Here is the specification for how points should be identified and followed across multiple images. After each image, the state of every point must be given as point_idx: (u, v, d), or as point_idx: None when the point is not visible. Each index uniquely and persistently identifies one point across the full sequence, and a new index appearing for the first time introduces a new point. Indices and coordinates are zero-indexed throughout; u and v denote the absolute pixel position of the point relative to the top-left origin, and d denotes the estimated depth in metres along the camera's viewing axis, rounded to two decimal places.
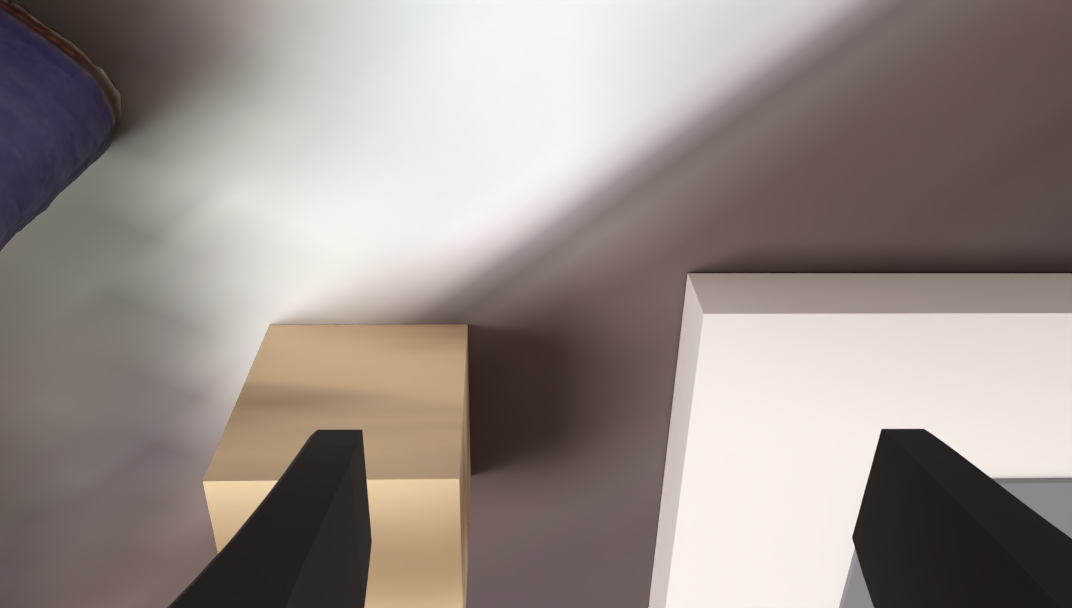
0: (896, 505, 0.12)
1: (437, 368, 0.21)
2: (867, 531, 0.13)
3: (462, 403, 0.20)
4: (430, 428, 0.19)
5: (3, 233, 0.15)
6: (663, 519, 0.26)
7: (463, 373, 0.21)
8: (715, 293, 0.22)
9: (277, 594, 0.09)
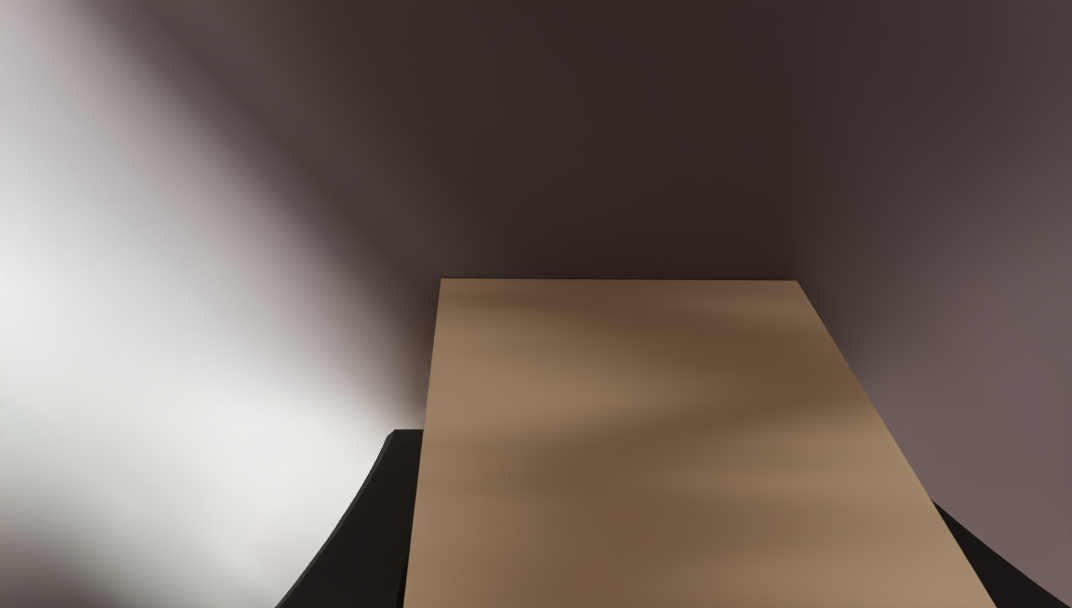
0: None
1: None
2: None
3: (424, 434, 0.09)
4: None
5: None
6: None
7: None
8: None
9: (384, 593, 0.09)
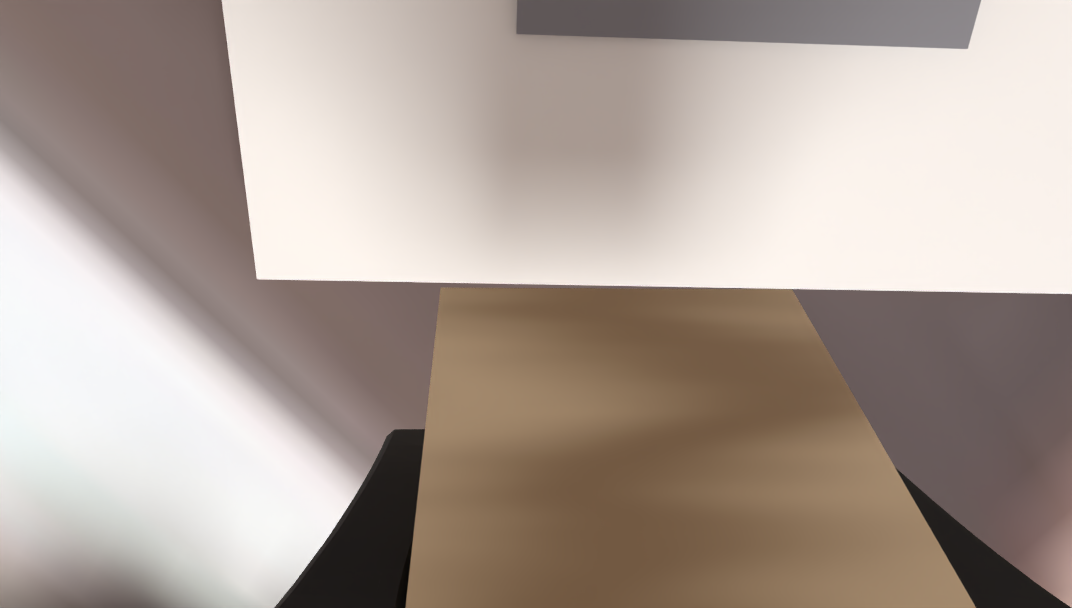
0: None
1: None
2: None
3: (425, 445, 0.10)
4: None
5: None
6: None
7: None
8: None
9: (384, 593, 0.09)
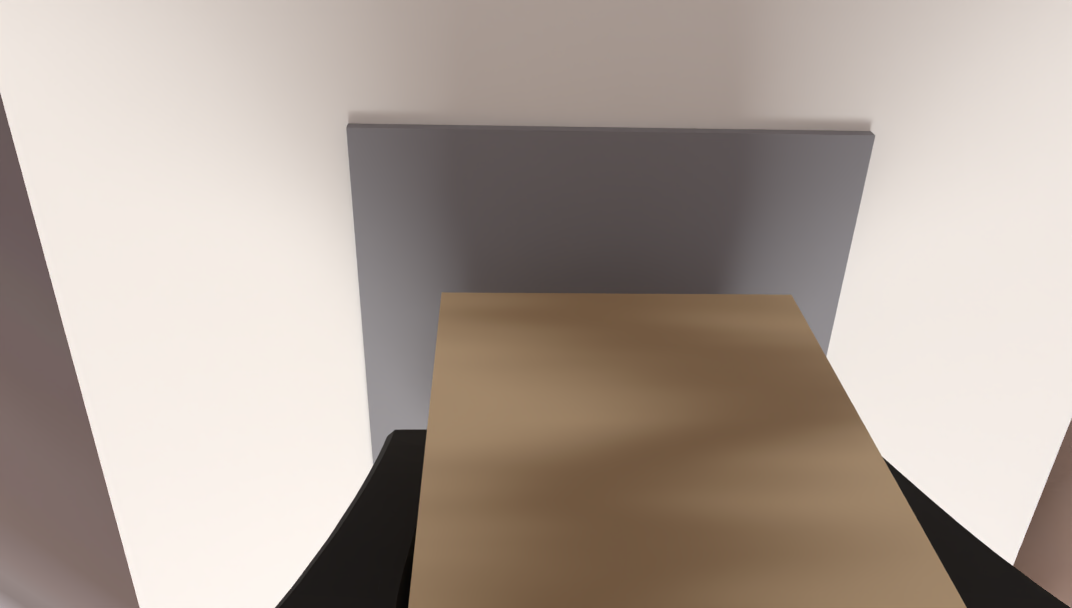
0: None
1: None
2: None
3: (426, 453, 0.10)
4: None
5: None
6: None
7: None
8: None
9: (384, 593, 0.09)
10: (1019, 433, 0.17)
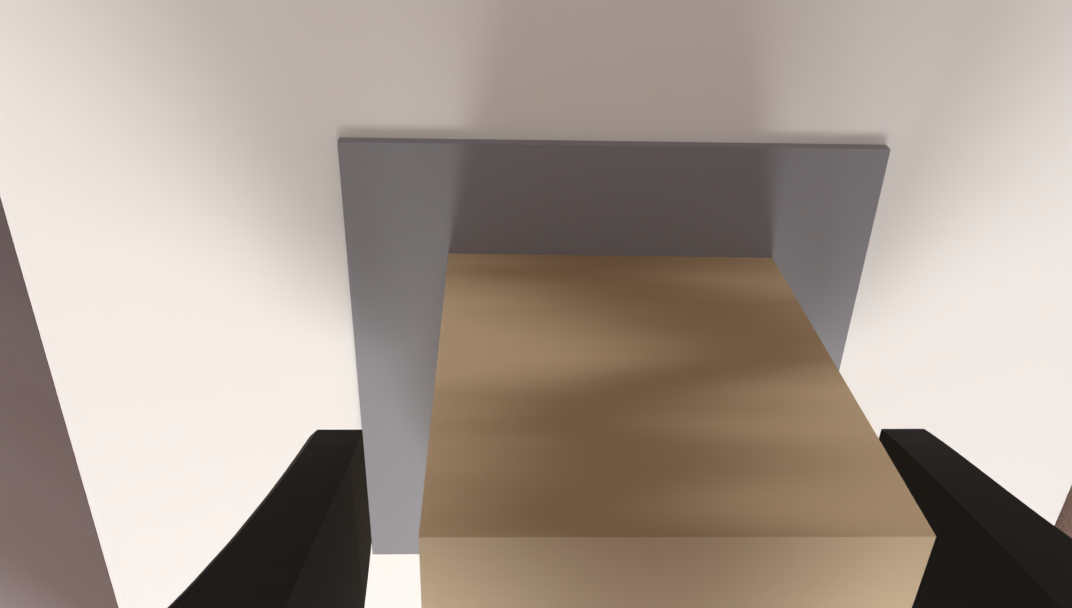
0: None
1: None
2: None
3: (436, 384, 0.11)
4: None
5: None
6: None
7: None
8: None
9: (277, 594, 0.09)
10: (1036, 455, 0.16)
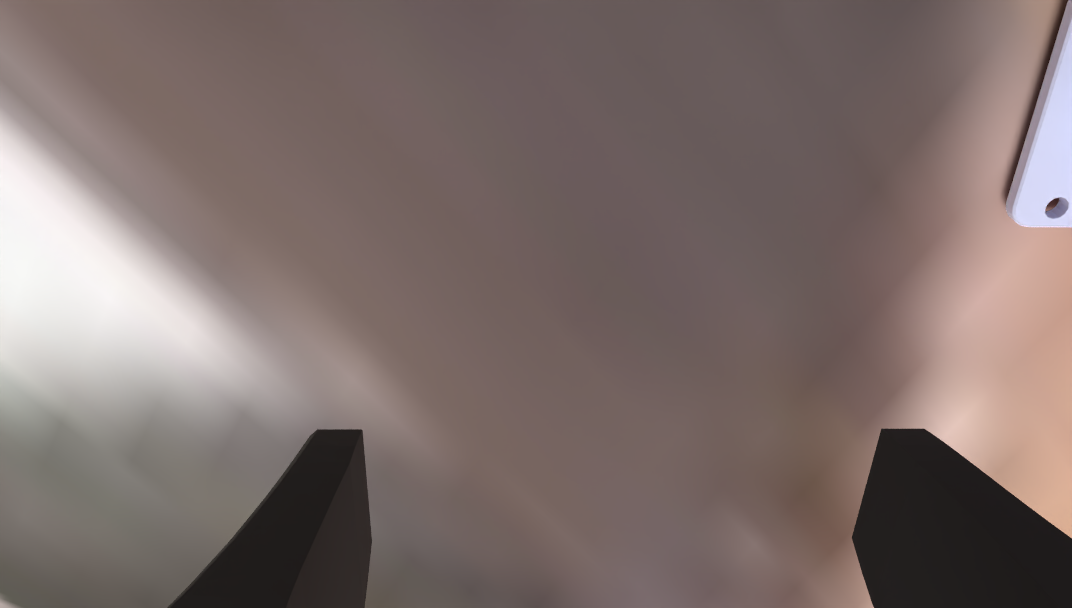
0: (896, 505, 0.12)
1: None
2: (867, 531, 0.13)
3: None
4: None
5: None
6: None
7: None
8: None
9: (277, 593, 0.09)
10: None
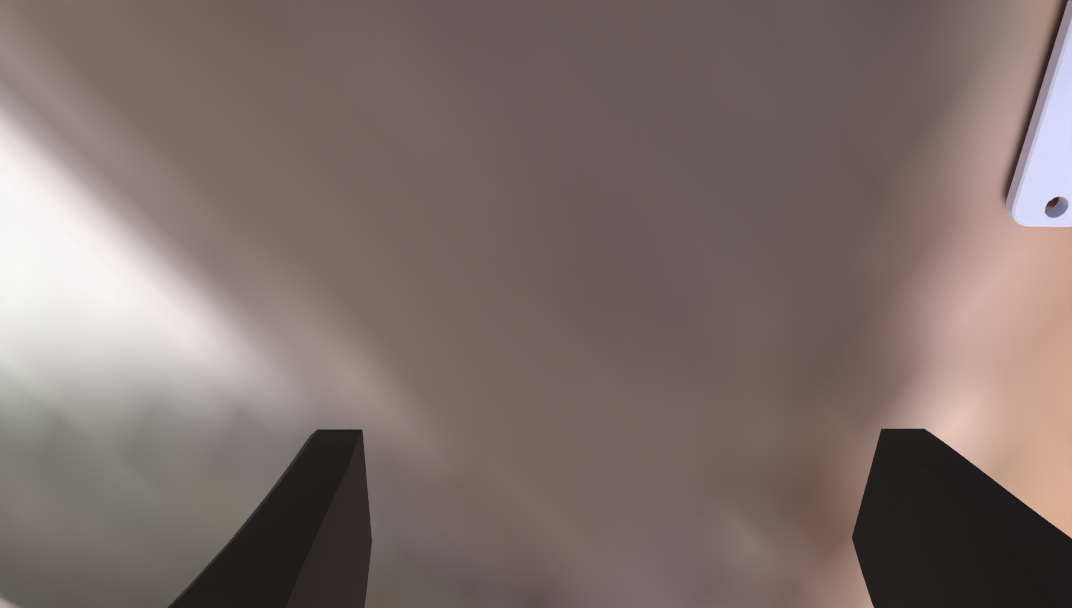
0: (896, 505, 0.12)
1: None
2: (867, 531, 0.13)
3: None
4: None
5: None
6: None
7: None
8: None
9: (277, 594, 0.09)
10: None
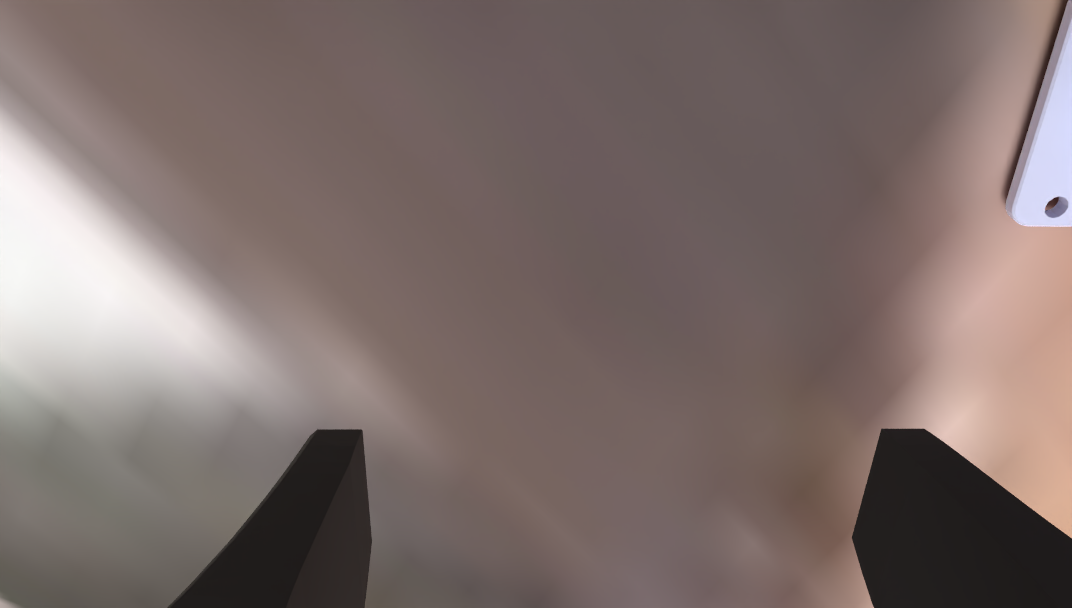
0: (896, 505, 0.12)
1: None
2: (867, 531, 0.13)
3: None
4: None
5: None
6: None
7: None
8: None
9: (277, 594, 0.09)
10: None
